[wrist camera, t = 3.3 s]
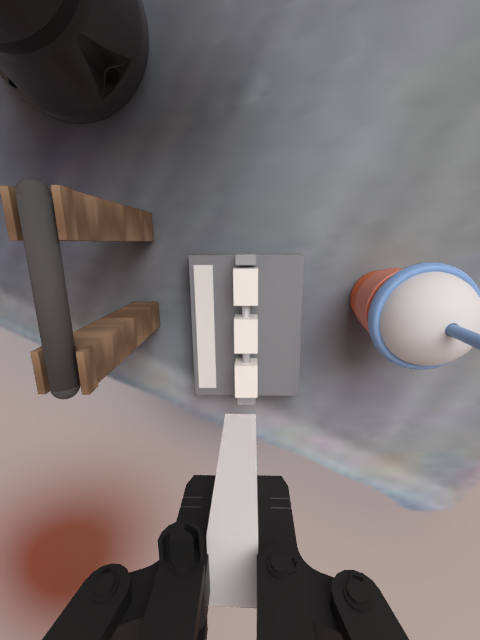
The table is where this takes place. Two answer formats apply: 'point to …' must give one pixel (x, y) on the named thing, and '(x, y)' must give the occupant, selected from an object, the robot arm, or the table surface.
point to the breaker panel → (273, 313)
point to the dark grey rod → (48, 286)
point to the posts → (118, 327)
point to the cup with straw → (419, 313)
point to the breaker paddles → (246, 331)
